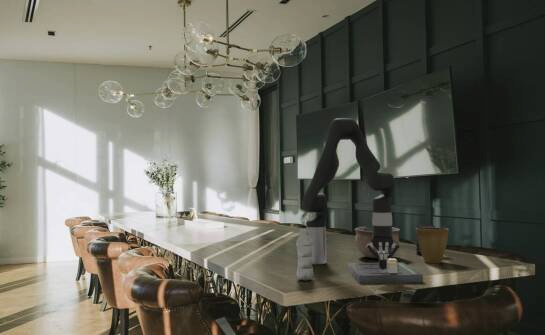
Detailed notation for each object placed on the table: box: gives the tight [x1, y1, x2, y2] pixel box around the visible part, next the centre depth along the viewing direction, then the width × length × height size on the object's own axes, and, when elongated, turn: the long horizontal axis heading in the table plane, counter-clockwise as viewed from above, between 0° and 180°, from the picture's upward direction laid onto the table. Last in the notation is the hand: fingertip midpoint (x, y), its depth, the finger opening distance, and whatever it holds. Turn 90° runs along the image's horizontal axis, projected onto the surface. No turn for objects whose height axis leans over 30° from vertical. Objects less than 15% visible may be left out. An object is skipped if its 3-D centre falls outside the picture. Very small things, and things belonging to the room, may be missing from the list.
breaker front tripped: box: [387, 262, 398, 273], centre depth 185 cm, size 3×4×4 cm
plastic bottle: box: [295, 228, 315, 282], centre depth 188 cm, size 6×7×20 cm
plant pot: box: [415, 227, 450, 264], centre depth 227 cm, size 15×15×16 cm
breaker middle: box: [387, 258, 398, 263], centre depth 195 cm, size 3×4×3 cm
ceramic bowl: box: [354, 226, 400, 259], centre depth 242 cm, size 22×22×15 cm
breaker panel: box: [347, 262, 424, 284], centre depth 195 cm, size 24×28×3 cm
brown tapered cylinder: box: [415, 224, 436, 257], centre depth 250 cm, size 10×10×15 cm
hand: (382, 269), depth 185 cm, fingers closed
